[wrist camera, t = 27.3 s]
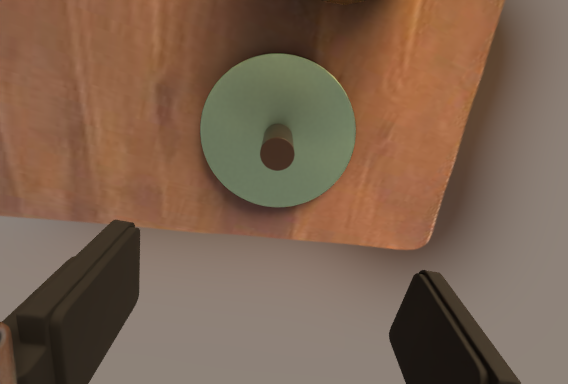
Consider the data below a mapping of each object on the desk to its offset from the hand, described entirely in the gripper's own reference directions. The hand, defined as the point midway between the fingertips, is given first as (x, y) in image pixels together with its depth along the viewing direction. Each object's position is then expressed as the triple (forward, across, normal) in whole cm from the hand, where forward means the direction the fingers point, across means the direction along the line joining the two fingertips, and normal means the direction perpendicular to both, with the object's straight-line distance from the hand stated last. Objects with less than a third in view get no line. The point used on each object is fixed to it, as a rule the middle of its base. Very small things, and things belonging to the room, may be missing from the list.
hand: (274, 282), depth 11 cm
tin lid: (+22, 0, 0) cm, 22 cm away
